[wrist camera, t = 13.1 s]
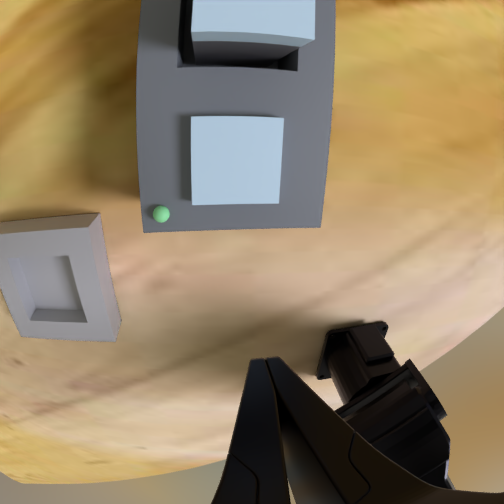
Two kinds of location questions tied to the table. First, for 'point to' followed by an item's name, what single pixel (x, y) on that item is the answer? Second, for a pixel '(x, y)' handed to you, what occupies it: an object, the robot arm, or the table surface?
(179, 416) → the table surface
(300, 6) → the plug
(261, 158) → the grey dispenser box
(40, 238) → the cradle
